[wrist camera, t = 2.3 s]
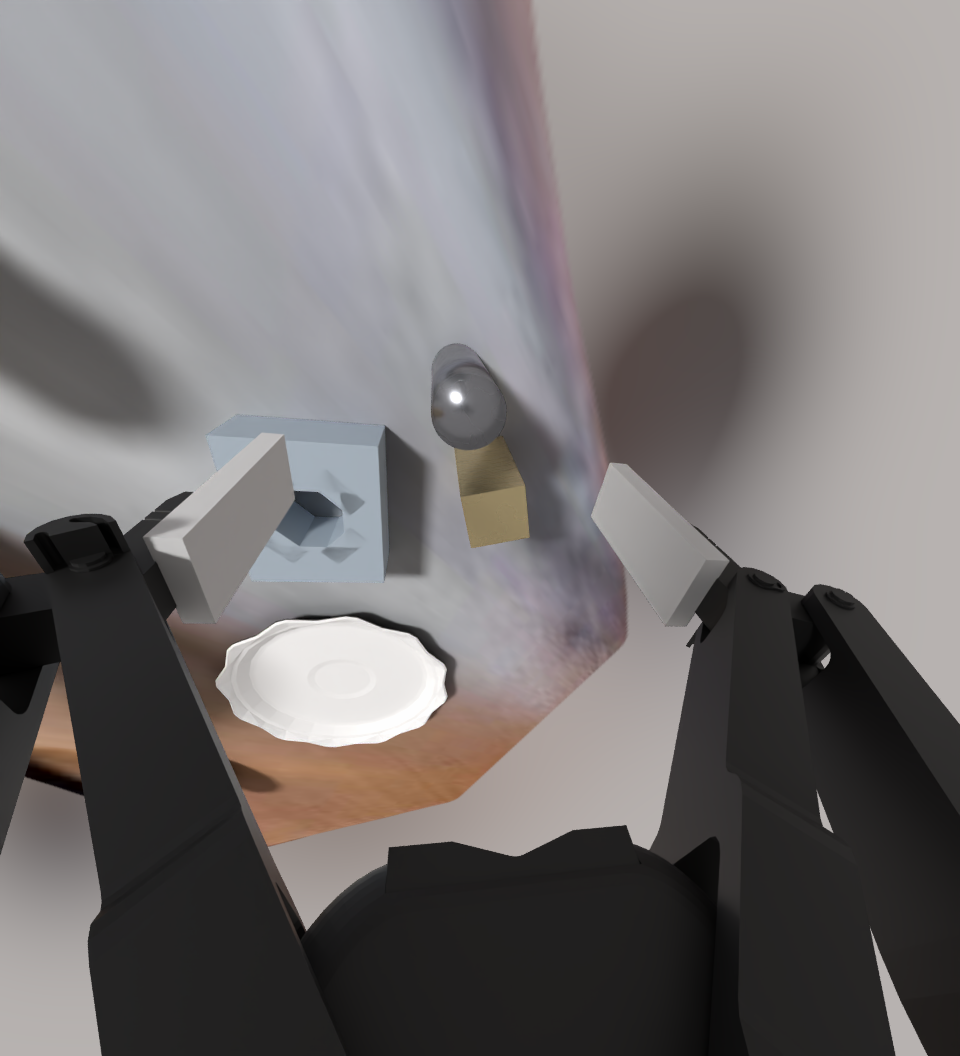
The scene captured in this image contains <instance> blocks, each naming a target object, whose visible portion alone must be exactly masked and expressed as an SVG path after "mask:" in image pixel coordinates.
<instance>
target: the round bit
mask: <svg viewBox="0 0 960 1056" xmlns="http://www.w3.org/2000/svg"><path fill="white" fill-rule="evenodd" d="M506 413H507V412H506V403H505V400H504V397H503V395H502V393H501V391H500V390H499V388H498V387H497V385H496V383H495V382H494V380H493V379H492V377H491V376H490V374H489V372H488V371H487V369H486V368H485V366H484V365H483V363H482V361H481V360H480V358H479V357H478V355H477V354H476V353H475V351H474V350H472V349H471V348H470V347H468V346H466V345H463V344H450V345H448V346H445V347H444V348H442V349H441V350H440V351H439V352H438V353H437V355H436V356H435V358H434V361H433V364H432V394H431V417H432V422H433V426H434V428H435V430H436V432H437V434H438V435H439V436H440V438H441V439H442V440H443V441H444V442H446V443H447V444H448V445H450V446H452V447H454V448H457V449H461V450H476V449H480V448H482V447H485V446H487V445H488V444H490V443H491V442H493V441H494V440H495V439H496V438H497V436H498V435H499V434H500V432H501V431H502V429H503V427H504V424H505V420H506Z"/></svg>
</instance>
